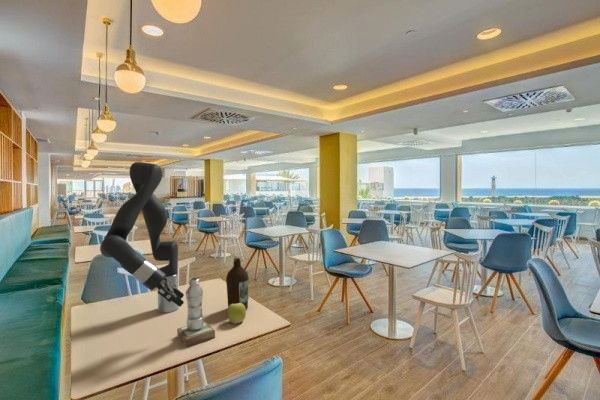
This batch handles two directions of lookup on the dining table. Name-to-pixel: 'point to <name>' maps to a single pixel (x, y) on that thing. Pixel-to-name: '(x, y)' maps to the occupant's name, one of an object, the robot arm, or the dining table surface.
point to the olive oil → (237, 284)
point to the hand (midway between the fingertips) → (182, 300)
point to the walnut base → (195, 334)
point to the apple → (236, 313)
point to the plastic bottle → (194, 305)
